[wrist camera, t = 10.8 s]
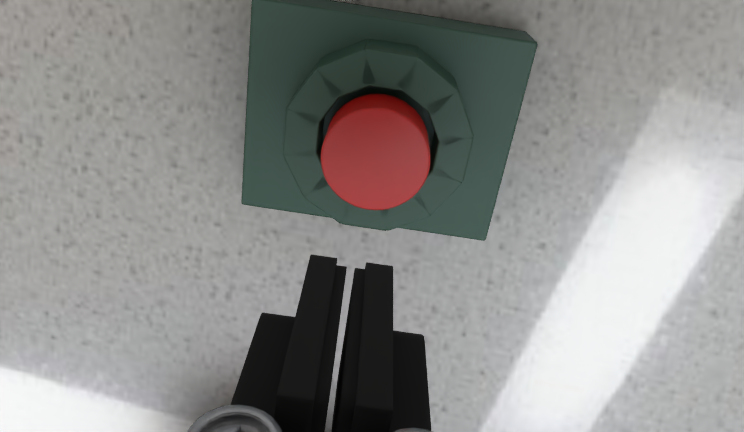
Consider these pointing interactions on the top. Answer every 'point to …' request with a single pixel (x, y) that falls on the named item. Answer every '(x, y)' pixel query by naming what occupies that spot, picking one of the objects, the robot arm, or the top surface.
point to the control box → (391, 77)
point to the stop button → (376, 152)
